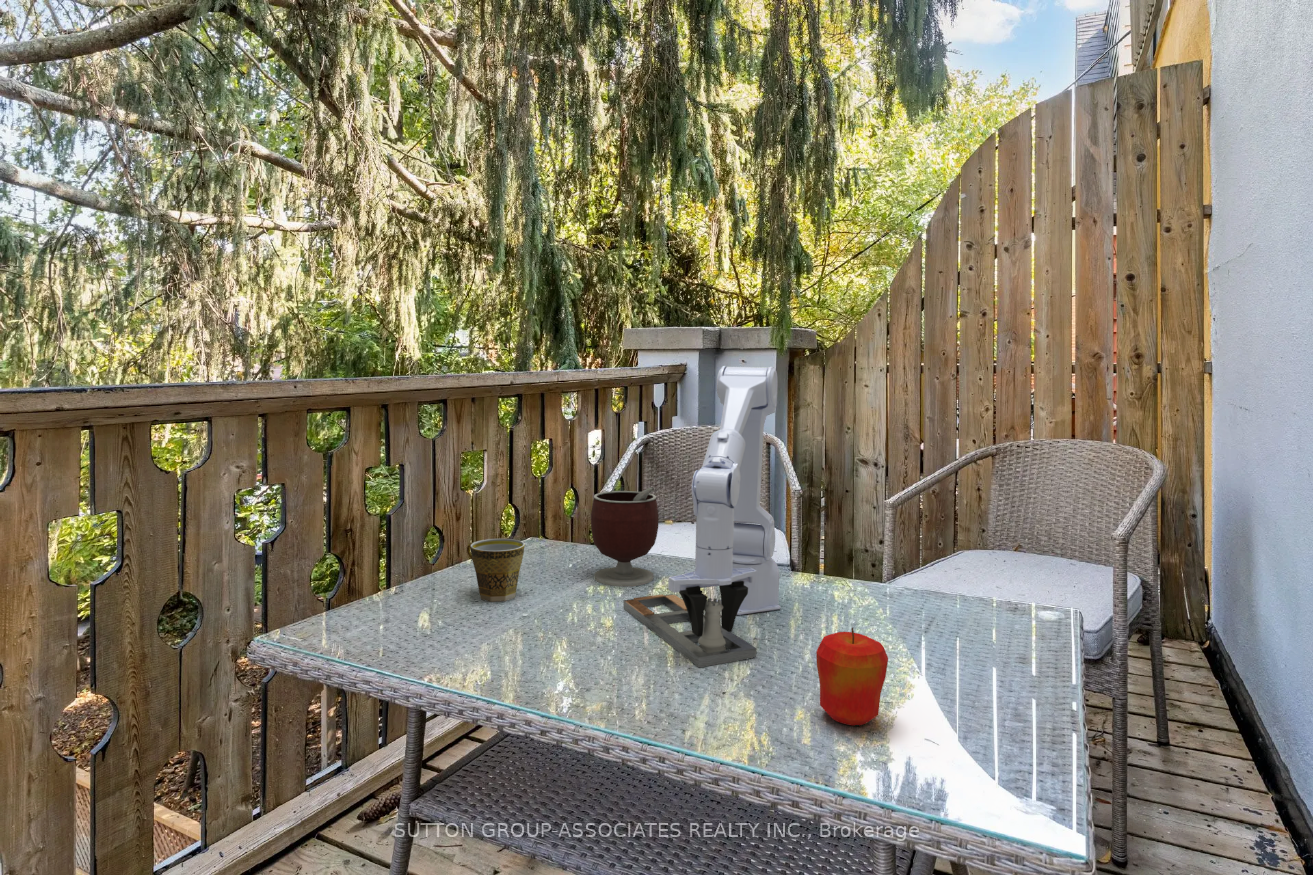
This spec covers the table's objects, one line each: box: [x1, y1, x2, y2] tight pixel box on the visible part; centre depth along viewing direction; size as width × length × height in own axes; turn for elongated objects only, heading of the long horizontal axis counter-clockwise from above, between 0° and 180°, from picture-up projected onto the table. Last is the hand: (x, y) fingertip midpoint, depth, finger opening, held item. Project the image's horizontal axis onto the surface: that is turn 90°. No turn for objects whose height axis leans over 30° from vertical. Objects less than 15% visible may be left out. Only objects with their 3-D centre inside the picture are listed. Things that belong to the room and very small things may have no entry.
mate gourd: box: [590, 487, 660, 587], centre depth 154 cm, size 16×14×20 cm
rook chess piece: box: [697, 597, 727, 653], centre depth 116 cm, size 4×4×8 cm
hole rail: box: [622, 593, 757, 668], centre depth 125 cm, size 10×29×2 cm, turn 25°
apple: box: [815, 627, 889, 726], centre depth 94 cm, size 9×8×12 cm
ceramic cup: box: [466, 538, 526, 603], centre depth 142 cm, size 13×10×10 cm
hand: (712, 631), depth 116 cm, fingers open, 5 cm apart
